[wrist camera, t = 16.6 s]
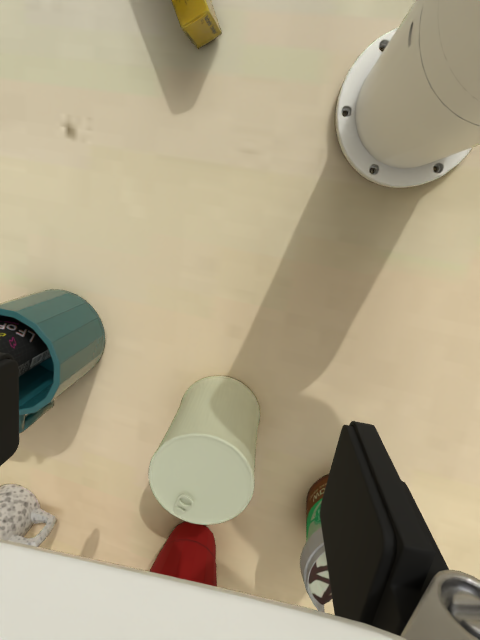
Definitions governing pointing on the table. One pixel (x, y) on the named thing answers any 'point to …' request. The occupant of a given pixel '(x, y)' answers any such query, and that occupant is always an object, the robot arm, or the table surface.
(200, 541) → the plastic cup
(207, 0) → the medication box
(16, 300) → the mug
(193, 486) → the can
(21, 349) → the beverage can
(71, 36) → the table surface
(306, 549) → the food container
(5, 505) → the mug
